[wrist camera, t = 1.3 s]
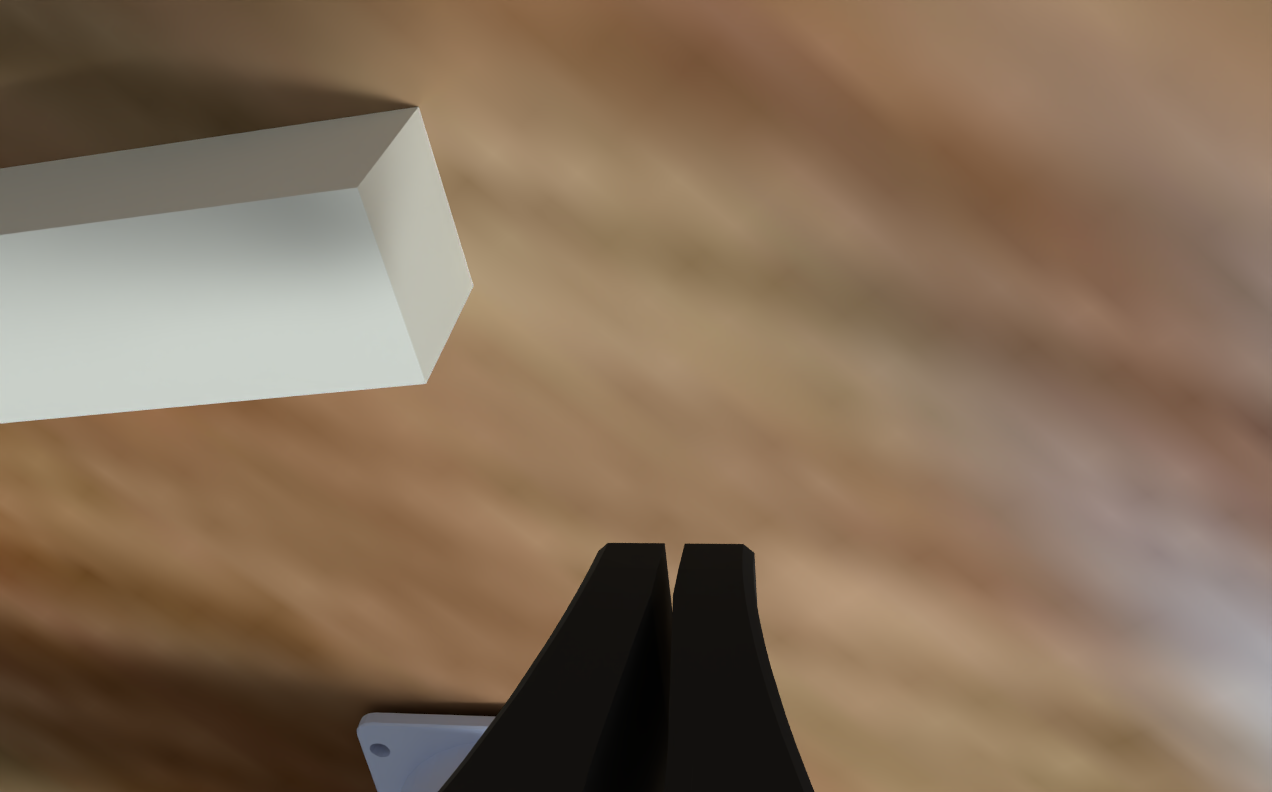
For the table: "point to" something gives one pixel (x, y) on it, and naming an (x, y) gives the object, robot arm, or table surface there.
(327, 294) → the gray rectangular block
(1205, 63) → the table surface
